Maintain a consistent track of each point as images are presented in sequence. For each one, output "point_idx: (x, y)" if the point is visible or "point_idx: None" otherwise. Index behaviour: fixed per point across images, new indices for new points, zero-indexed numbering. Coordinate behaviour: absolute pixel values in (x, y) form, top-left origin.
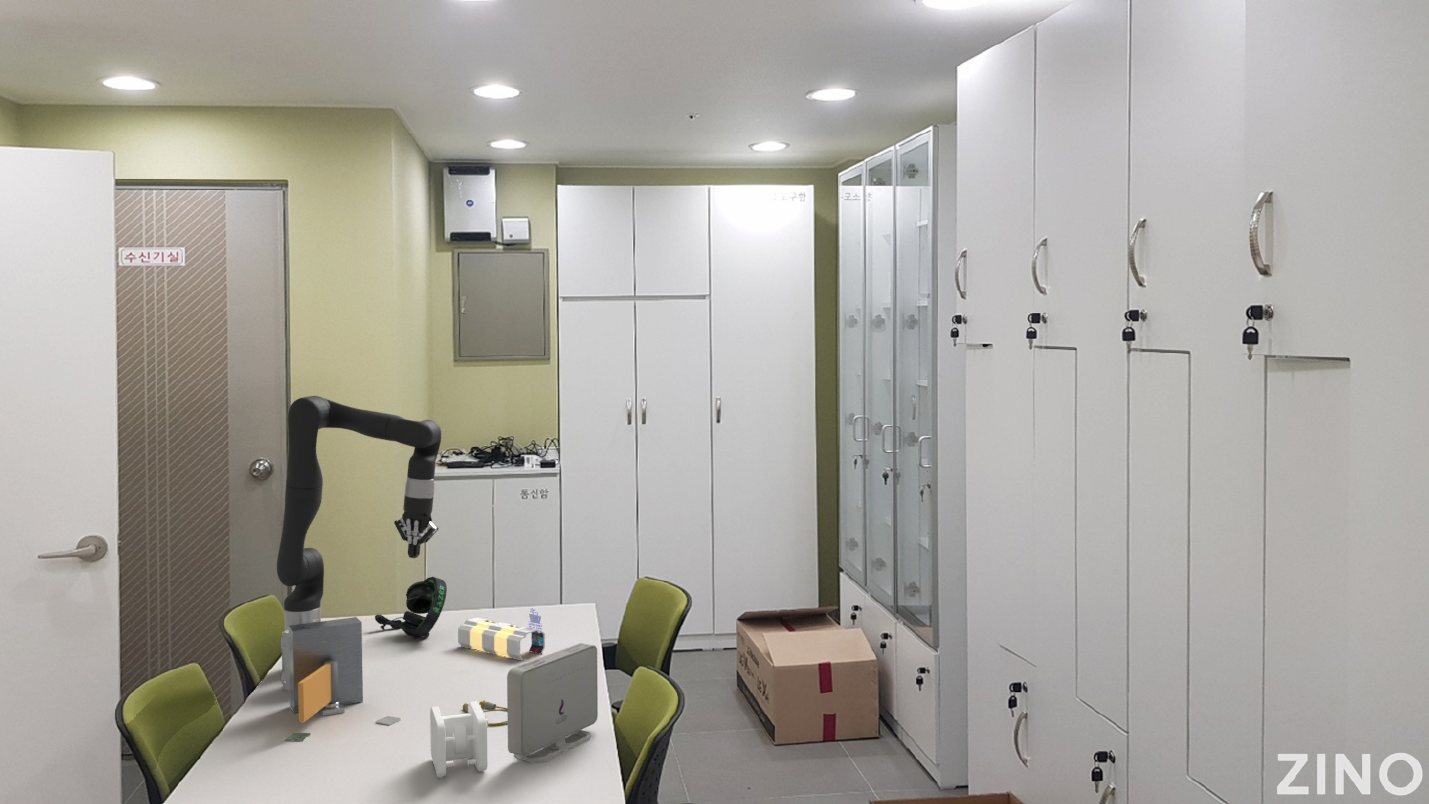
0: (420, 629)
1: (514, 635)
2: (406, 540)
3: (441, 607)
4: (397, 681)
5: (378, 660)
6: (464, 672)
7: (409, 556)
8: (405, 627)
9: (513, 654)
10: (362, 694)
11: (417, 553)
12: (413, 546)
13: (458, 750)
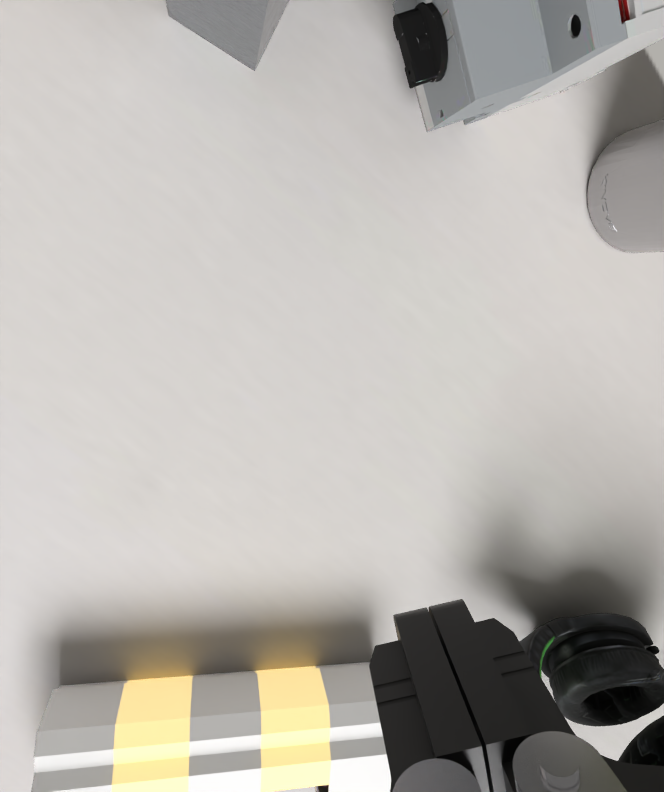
0: (533, 632)
1: (86, 754)
2: (658, 777)
3: None
4: (257, 273)
5: (501, 408)
6: (128, 479)
7: (451, 602)
8: (601, 621)
9: (87, 686)
10: (167, 1)
11: (375, 694)
12: (444, 731)
13: None
